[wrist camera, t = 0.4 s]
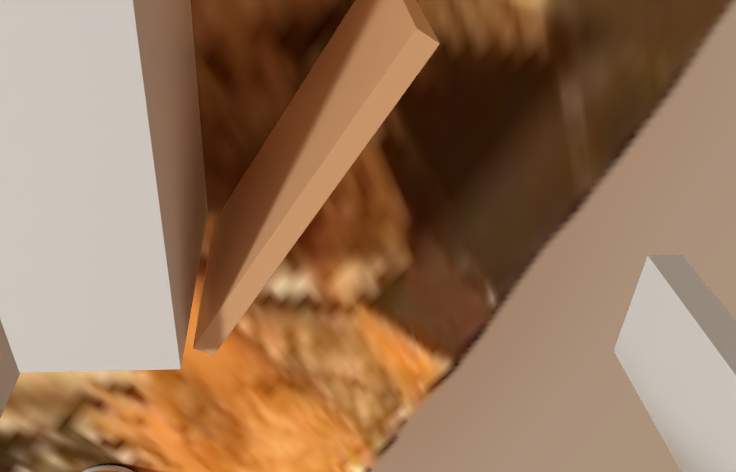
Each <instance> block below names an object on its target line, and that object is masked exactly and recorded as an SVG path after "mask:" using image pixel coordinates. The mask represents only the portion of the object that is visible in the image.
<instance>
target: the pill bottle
mask: <svg viewBox="0 0 736 472" xmlns="http://www.w3.org/2000/svg"><path fill="white" fill-rule="evenodd" d="M82 472H134V471H132V470H131V469H128V468H125V467H121V466H116V465H100V466H94V467H91V468H88V469H86V470H84V471H82Z"/></svg>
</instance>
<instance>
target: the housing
mask: <svg viewBox="0 0 736 472" xmlns="http://www.w3.org/2000/svg"><path fill="white" fill-rule="evenodd" d="M207 216H208V208H207V196H206V183H205V171H204V159H203V146H202V134H201V122H200V109H199V97H198V85H197V73H196V60H195V48H194V36H193V23H192V11H191V0H0V320H1V322H2V325H3V328H4V331H5V334H6V336H7V339H8V342H9V345H10V348H11V350H12V353H13V356H14V359H15V361H16V364H17V367H18V370H19V373H29V372H72V371H116V370H160V369H181V364H182V359H183V353H184V347H185V341H186V336H187V330H188V324H189V319H190V313H191V307H192V302H193V296H194V290H195V284H196V279H197V273H198V267H199V262H200V256H201V250H202V244H203V239H204V233H205V227H206V222H207Z"/></svg>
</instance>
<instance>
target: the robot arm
mask: <svg viewBox="0 0 736 472" xmlns="http://www.w3.org/2000/svg"><path fill="white" fill-rule="evenodd" d="M614 352H615V354H616V356H617V357H618V359H619V361H620V363H621V365H622V366H623V368H624V370H625V372H626V374H627V375H628V377H629V379H630V381H631V383H632V384H633V386H634V388H635V390H636V392H637V393H638V395H639V397H640V398H641V401H642V402H643V404H644V406H645V408H646V410H647V411H648V413H649V415H650V417H651V418H652V420H653V422H654V424H655V426H656V428H657V429H658V431H659V433H660V435H661V437H662V438H663V440H664V442H665V444H666V445H667V447H668V449H669V451H670V453H671V454H672V456H673V458H674V460H675V462H676V463H677V465H678V467H679V469H680V471H681V472H736V320H735V319H734V318H733V317H732V316H731V314H730V313H729V312H728V311H727V309H726V308H725V307H724V306H723V304H722V303H721V302H720V301H719V299H718V298H717V297H716V296H715V294H714V293H713V292H712V291H711V289H710V288H709V287H708V286H707V285H706V283H705V282H704V281H703V280H702V278H701V277H700V276H699V275H698V273H697V272H696V271H695V270H694V268H693V267H692V266H691V265H690V264H689V262H688V261H687V260H686V259H685V257H684V256H683V255H657V256H656V255H654V256H653V255H652V256H648V257H647V259H646V262H645V265H644V268H643V271H642V273H641V276H640V279H639V282H638V285H637V288H636V290H635V293H634V296H633V299H632V301H631V304H630V307H629V310H628V313H627V315H626V318H625V321H624V324H623V327H622V329H621V332H620V335H619V338H618V340H617V344H616V346H615V349H614ZM19 375H20V373H19V370H18V367H17V364H16V361H15V359H14V356H13V353H12V350H11V348H10V345H9V342H8V339H7V336H6V334H5V331H4V328H3V325H2V322H1V320H0V418H1V416H2V413H3V411H4V409H5V407H6V404H7V402H8V400H9V397H10V395H11V393H12V391H13V388H14V386H15V384H16V381H17V379H18V377H19Z"/></svg>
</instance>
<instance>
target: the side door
mask: <svg viewBox="0 0 736 472" xmlns="http://www.w3.org/2000/svg"><path fill="white" fill-rule="evenodd" d="M439 44H440V43H439V41H438V39H437V38H436V36H435V34H434V32H433V30H432V28H431V26H430V24H429V23H428V21H427V19H426V17H425V15H424V13H423V11H422V10H421V8H420V6H419V4H418V2H417V0H355V1H354V2H353V4H352V6H351V7H350V9H349V10H348V12H347V13H346V15H345V17H344V18H343V20H342V21H341V23H340V24H339V26H338V28H337V29H336V31H335V32H334V34H333V35H332V37H331V39H330V40H329V42H328V43H327V45H326V46H325V48H324V50H323V51H322V53H321V54H320V56H319V57H318V59H317V61H316V62H315V64H314V65H313V67H312V68H311V70H310V72H309V73H308V75H307V76H306V78H305V79H304V81H303V83H302V84H301V86H300V87H299V89H298V90H297V92H296V94H295V95H294V97H293V98H292V100H291V101H290V103H289V105H288V106H287V108H286V109H285V111H284V112H283V114H282V116H281V117H280V119H279V120H278V122H277V123H276V125H275V126H274V128H273V130H272V131H271V133H270V134H269V136H268V137H267V139H266V141H265V142H264V144H263V145H262V147H261V148H260V150H259V152H258V153H257V155H256V156H255V158H254V159H253V161H252V163H251V164H250V166H249V167H248V169H247V170H246V172H245V174H244V175H243V177H242V178H241V180H240V181H239V183H238V185H237V186H236V188H235V189H234V191H233V192H232V194H231V196H230V197H229V199H228V200H227V202H226V203H225V205H224V207H223V208H222V210H221V211H220V213H219V214H218V216H217V218H216V219H215V221H214V222H213V227H212V234H211V240H210V246H209V252H208V259H207V265H206V271H205V277H204V284H203V290H202V296H201V302H200V308H199V315H198V321H197V327H196V333H195V340H194V346H193V348H194V349H197V350H200V351H202V352H205V353H208V354H210V355H213V356H214V354H215V353H216V352H217V350H218V349H219V348H220V346H221V345H222V343H223V342H224V341H225V339H226V338H227V337H228V335H229V334H230V332H231V331H232V330H233V328H234V327H235V325H236V324H237V323H238V321H239V320H240V319H241V317H242V316H243V314H244V313H245V312H246V310H247V309H248V308H249V306H250V305H251V303H252V302H253V301H254V299H255V298H256V297H257V295H258V294H259V292H260V291H261V290H262V288H263V287H264V286H265V284H266V283H267V281H268V280H269V279H270V277H271V276H272V274H273V273H274V272H275V270H276V269H277V268H278V266H279V265H280V263H281V262H282V261H283V259H284V258H285V257H286V255H287V254H288V252H289V251H290V250H291V248H292V247H293V246H294V244H295V243H296V241H297V240H298V239H299V237H300V236H301V235H302V233H303V232H304V230H305V229H306V228H307V226H308V225H309V223H310V222H311V221H312V219H313V218H314V217H315V215H316V214H317V212H318V211H319V210H320V208H321V207H322V206H323V204H324V203H325V201H326V200H327V199H328V197H329V196H330V195H331V193H332V192H333V190H334V189H335V188H336V186H337V185H338V184H339V182H340V181H341V179H342V178H343V177H344V175H345V174H346V172H347V171H348V170H349V168H350V167H351V166H352V164H353V163H354V161H355V160H356V159H357V157H358V156H359V155H360V153H361V152H362V150H363V149H364V148H365V146H366V145H367V144H368V142H369V141H370V139H371V138H372V137H373V135H374V134H375V133H376V131H377V130H378V128H379V127H380V126H381V124H382V123H383V121H384V120H385V119H386V117H387V116H388V115H389V113H390V112H391V110H392V109H393V108H394V106H395V105H396V104H397V102H398V101H399V99H400V98H401V97H402V95H403V94H404V93H405V91H406V90H407V88H408V87H409V86H410V84H411V83H412V82H413V80H414V79H415V77H416V76H417V75H418V73H419V72H420V70H421V69H422V68H423V66H424V65H425V64H426V62H427V61H428V59H429V58H430V57H431V55H432V54H433V53H434V51H435V50H436V48H437V47H438V46H439Z"/></svg>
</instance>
